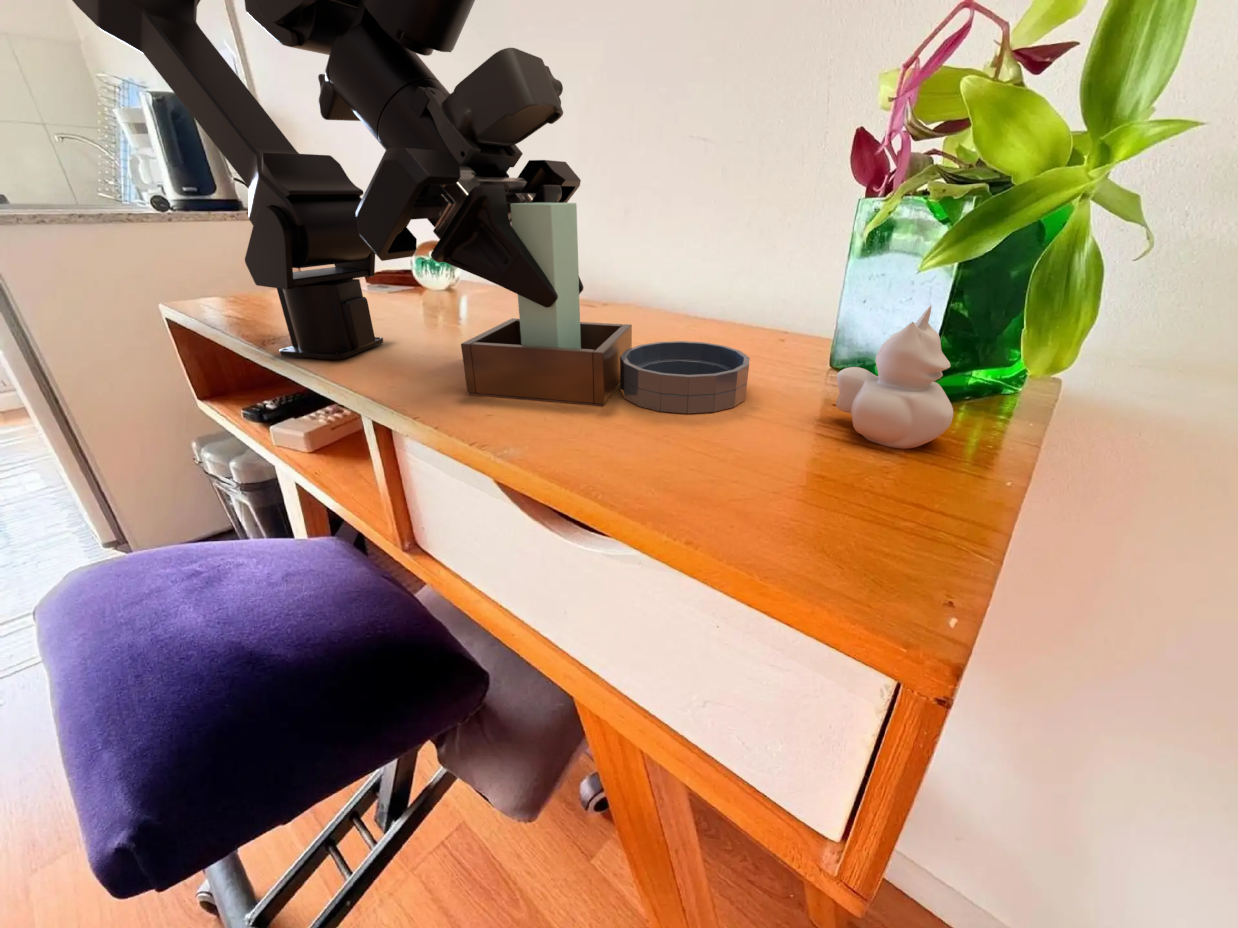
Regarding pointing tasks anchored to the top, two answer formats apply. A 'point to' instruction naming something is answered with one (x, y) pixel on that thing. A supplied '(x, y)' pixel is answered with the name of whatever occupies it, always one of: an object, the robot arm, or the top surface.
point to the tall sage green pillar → (550, 272)
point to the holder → (546, 365)
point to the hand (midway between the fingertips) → (566, 298)
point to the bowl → (684, 376)
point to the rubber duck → (900, 390)
